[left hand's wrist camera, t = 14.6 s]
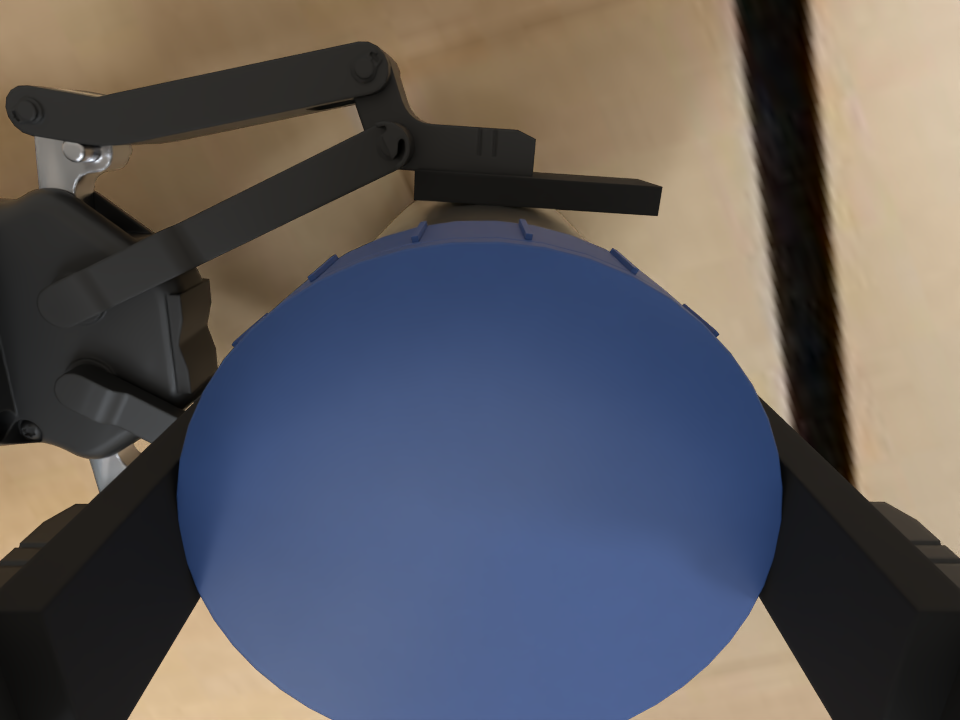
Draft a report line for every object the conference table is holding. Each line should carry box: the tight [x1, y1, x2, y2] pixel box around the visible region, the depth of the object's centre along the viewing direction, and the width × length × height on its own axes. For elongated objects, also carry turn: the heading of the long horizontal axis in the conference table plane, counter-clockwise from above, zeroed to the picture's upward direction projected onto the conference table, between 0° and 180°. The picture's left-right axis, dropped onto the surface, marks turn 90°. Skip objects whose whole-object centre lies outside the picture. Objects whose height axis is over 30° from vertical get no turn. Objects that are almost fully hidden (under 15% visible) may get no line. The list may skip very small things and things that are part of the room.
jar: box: [374, 200, 586, 241], centre depth 18 cm, size 9×9×15 cm
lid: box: [177, 219, 783, 720], centre depth 11 cm, size 10×10×2 cm
